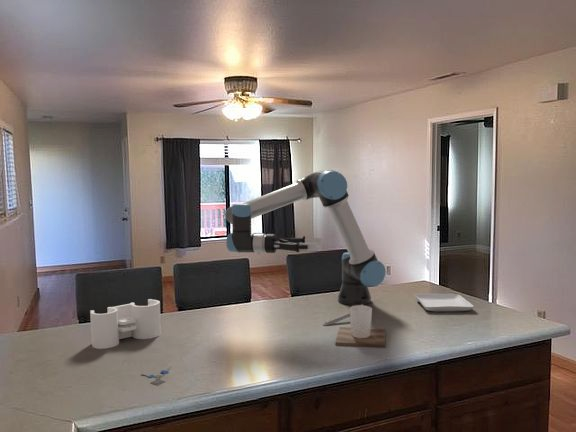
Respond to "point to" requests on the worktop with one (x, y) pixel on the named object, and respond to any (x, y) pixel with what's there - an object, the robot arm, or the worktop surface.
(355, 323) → the white cup
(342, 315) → the caliper
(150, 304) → the bracket
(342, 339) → the walnut board
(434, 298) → the salad plate
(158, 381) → the key chain
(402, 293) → the worktop surface
